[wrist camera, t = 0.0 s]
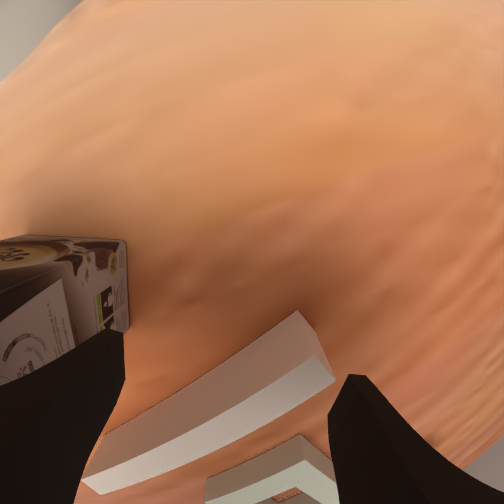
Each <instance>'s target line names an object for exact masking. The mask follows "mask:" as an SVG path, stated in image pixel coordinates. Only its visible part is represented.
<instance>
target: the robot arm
mask: <svg viewBox="0 0 504 504" xmlns="http://www.w3.org/2000/svg"><path fill="white" fill-rule="evenodd" d="M124 381H125V364H124V340H123V332H119V331H116V330H112V329H109V328H105V329H103V330H102V331H100V332H98V333H97V334H95V335H94V336H92V337H90V338H89V339H87V340H86V341H84V342H83V343H81V344H80V345H78V346H76V347H75V348H73V349H72V350H70V351H68V352H67V353H65V354H63V355H62V356H60V357H58V358H57V359H55V360H53V361H51V362H50V363H48V364H46V365H44V366H42V367H40V368H39V369H37V370H35V371H33V372H31V373H29V374H27V375H25V376H23V377H20V378H18V379H16V380H13V381H11V382H8V383H6V384H3V385H1V386H0V504H73V503H74V499H75V496H76V492H77V489H78V486H79V483H80V480H81V477H82V474H83V471H84V468H85V465H86V463H87V460H88V458H89V456H90V453H91V452H92V450H93V448H94V446H95V444H96V442H97V440H98V438H99V436H100V434H101V432H102V430H103V428H104V426H105V424H106V423H107V421H108V419H109V417H110V415H111V413H112V411H113V409H114V407H115V405H116V403H117V400H118V398H119V395H120V392H121V390H122V387H123V384H124ZM328 435H329V445H330V451H331V457H332V462H333V468H334V473H335V478H336V484H337V490H338V496H339V504H504V492H501V491H499V490H496V489H494V488H492V487H490V486H488V485H486V484H484V483H482V482H480V481H479V480H477V479H475V478H473V477H472V476H470V475H469V474H467V473H465V472H464V471H462V470H461V469H460V468H458V467H457V466H455V465H454V464H452V463H451V462H450V461H448V460H447V459H446V458H445V457H443V456H442V455H441V454H440V453H439V452H437V451H436V450H435V449H434V448H433V447H431V446H430V445H429V444H428V443H427V442H426V441H425V440H424V439H423V438H422V437H421V436H420V435H419V434H418V433H417V432H416V431H415V430H414V429H413V428H412V427H411V426H410V425H409V424H408V423H407V422H406V421H405V420H404V418H403V417H402V416H401V415H400V414H399V413H398V412H397V411H396V409H395V408H394V407H393V406H392V405H391V404H390V403H389V401H388V400H387V399H386V398H385V397H384V396H383V394H382V393H381V392H380V391H379V390H378V389H377V387H376V386H375V385H374V384H373V383H372V382H371V381H370V380H369V379H368V378H367V376H366V375H354V374H349V375H348V377H347V379H346V381H345V383H344V385H343V387H342V389H341V391H340V393H339V395H338V397H337V398H336V400H335V402H334V404H333V406H332V408H331V410H330V412H329V414H328Z"/></svg>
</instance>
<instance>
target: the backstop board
mask: <svg viewBox="0 0 504 504" xmlns="http://www.w3.org/2000/svg"><path fill="white" fill-rule="evenodd" d="M335 381H336V379H335V377H334V374H333V372H332V369H331V367H330V365H329V362H328V360H327V358H326V355H325V353H324V351H323V349H322V346H321V344H320V342H319V339H318V337H317V335H316V332H315V331H314V330H313V328H312V327H311V326H310V325H309V323H308V322H307V321H306V320H305V318H304V317H303V316H302V315H301V313H300V312H299V311H298V310H296V311H295V312H294V313H292V314H291V315H290V316H288V317H287V318H285V319H284V320H283V321H281V322H280V323H279V324H277V325H276V326H274V327H273V328H272V329H270V330H269V331H267V332H266V333H265V334H263V335H262V336H260V337H259V338H258V339H256V340H255V341H253V342H252V343H250V344H249V345H248V346H246V347H245V348H243V349H242V350H240V351H239V352H237V353H236V354H234V355H233V356H231V357H230V358H229V359H227V360H226V361H224V362H223V363H221V364H220V365H218V366H217V367H215V368H214V369H212V370H211V371H209V372H207V373H206V374H204V375H203V376H201V377H200V378H198V379H197V380H195V381H194V382H192V383H190V384H189V385H187V386H186V387H184V388H183V389H181V390H179V391H178V392H176V393H175V394H173V395H171V396H170V397H168V398H167V399H165V400H163V401H162V402H160V403H158V404H157V405H155V406H153V407H152V408H150V409H148V410H147V411H145V412H143V413H142V414H140V415H138V416H137V417H135V418H133V419H131V420H130V421H128V422H126V423H124V424H123V425H121V426H119V427H117V428H116V429H114V430H112V431H110V432H109V433H107V434H105V436H104V438H103V439H102V441H101V443H100V445H99V447H98V448H97V450H96V452H95V454H94V456H93V458H92V459H91V461H90V463H89V465H88V467H87V469H86V470H85V472H84V474H83V476H82V478H81V481H83V482H84V483H85V484H86V485H88V486H89V487H90V488H92V489H93V490H94V491H96V492H97V493H98V494H100V495H103V494H106V493H109V492H112V491H115V490H119V489H122V488H125V487H128V486H131V485H133V484H136V483H139V482H142V481H145V480H147V479H150V478H153V477H155V476H158V475H160V474H163V473H166V472H168V471H170V470H173V469H175V468H178V467H180V466H182V465H185V464H187V463H189V462H192V461H194V460H196V459H198V458H201V457H203V456H205V455H207V454H209V453H211V452H213V451H216V450H218V449H220V448H222V447H224V446H226V445H228V444H230V443H232V442H234V441H236V440H238V439H240V438H242V437H244V436H245V435H247V434H249V433H251V432H253V431H255V430H257V429H258V428H260V427H262V426H264V425H266V424H267V423H269V422H271V421H273V420H274V419H276V418H278V417H280V416H281V415H283V414H285V413H286V412H288V411H290V410H291V409H293V408H295V407H296V406H298V405H300V404H301V403H303V402H304V401H306V400H308V399H309V398H311V397H312V396H314V395H315V394H317V393H319V392H320V391H322V390H323V389H325V388H326V387H328V386H329V385H331V384H332V383H334V382H335Z"/></svg>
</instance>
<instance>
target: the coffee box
mask: <svg viewBox="0 0 504 504" xmlns="http://www.w3.org/2000/svg"><path fill="white" fill-rule="evenodd" d="M105 328H109V329H112V330H116V331H119V332H123V335H124V334H125V333H126V332H127V330H128V329H129V312H128V292H127V261H126V244H125V242H124V241H123V240H114V239H97V238H76V237H58V236H39V235H22V236H17V237H13V238H9V239H5V240H1V241H0V386H1V385H3V384H6V383H8V382H11V381H13V380H16V379H18V378H20V377H23V376H25V375H27V374H29V373H31V372H33V371H35V370H37V369H39V368H40V367H42V366H44V365H46V364H48V363H50V362H51V361H53V360H55V359H57V358H58V357H60V356H62V355H63V354H65V353H67V352H68V351H70V350H72V349H73V348H75V347H76V346H78V345H80V344H81V343H83V342H84V341H86V340H87V339H89V338H90V337H92V336H94V335H95V334H97V333H98V332H100V331H102V330H103V329H105Z"/></svg>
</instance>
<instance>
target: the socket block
mask: <svg viewBox="0 0 504 504" xmlns="http://www.w3.org/2000/svg"><path fill="white" fill-rule="evenodd" d="M293 487H297V488H298V489H300V490H301V491H303V493H301V494H298V495H296V496H294V497H292V498H289V499H287V500H284V501H282V502H280V503H277V502H276V501H274V500H272V499H271V498H270V497H272V496H275V495H277V494H280V493H282V492H284V491H287V490H289V489H291V488H293ZM203 503H205V504H339V496H338V490H337V484H336V478H335V473H334V468H333V462H332V461H331V460H330V459H329V458H328V457H326V456H325V455H324V454H323V453H322V452H321V451H319V450H318V449H317V448H316V447H315V446H314V445H312V444H311V443H310V442H309V441H308V440H307V439H306V438H304V437H303V436H302V435H301V434H299V435H297V436H295V437H294V438H292V439H290V440H288V441H286V442H284V443H282V444H281V445H279V446H277V447H275V448H273V449H271V450H269V451H267V452H265V453H263V454H261V455H259V456H257V457H255V458H253V459H251V460H249V461H247V462H244V463H242V464H240V465H238V466H236V467H233V468H231V469H229V470H227V471H224V472H222V473H220V474H217V475H215V476H212V477H210V478H207V482H206V488H205V495H204V502H203Z"/></svg>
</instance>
